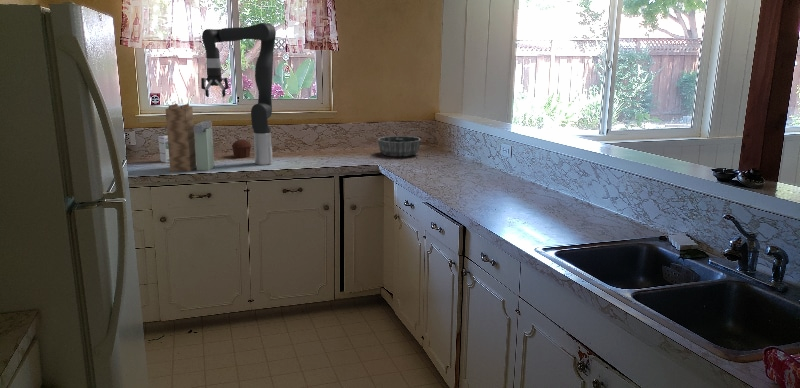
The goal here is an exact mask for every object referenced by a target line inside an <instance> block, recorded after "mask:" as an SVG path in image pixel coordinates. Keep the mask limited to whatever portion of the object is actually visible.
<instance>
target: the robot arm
mask: <svg viewBox="0 0 800 388" xmlns="http://www.w3.org/2000/svg"><path fill="white" fill-rule="evenodd" d="M276 34H277V32H276V28H275V26H274V25H272V24H271V23H269V22H260V23H257V24H253V25H250V26H245V27H244V26H243V27H224V28H221V29H213V28H212V29H211V28H210V29H209V28H206V29H204V30H203V31H202V35H201V38H202V39H201V40H202V44H203V47H204V50H205V57H206V59H205V60H206V61H205V65H206V66H205V67H206V77H201V79H200V82H201V84H200V86H201V89H202V90H204V94H205V96H206V98H209V97H210V93H209V89H210V88H211V86H212V87H220V88H221V96H222V98H225V96H226V90H228V89H229V80H228V78H227V77H222V65H221V59H220V58H221V56H220V50H219V48H218V47H217V45H216V44H217V43H222V42H223V43H224V42H238V41H243V40H257V41H260V51H259V54H258V57H257V60H256V63H255V68H254V69H255V70H254V79H255V84H256V87H257V91H258V94H257V95H258V98H257V103H255V104H254V105H253V106H252V107H251V109H250V118H251V127H252V130H253V144H254V145H253V148H254V151H253V152H254V164H255V165H259V166H261V165H262V166H263V165H264V166H265V165H266V166H267V165H272V164H273V145H272V133H271V132H272V130H271V127H270V126H269V122H268V119H270V118H271V117H272V113H273V104H272V103H273V101H272V90H273V76H274V75H273V71H274V70H273V69H274V49H275V42H276V36H277V35H276ZM206 81H207V85H206ZM222 82H224V85H223V83H222Z"/></svg>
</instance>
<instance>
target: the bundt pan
mask: <svg viewBox="0 0 800 388" xmlns="http://www.w3.org/2000/svg"><path fill="white" fill-rule="evenodd" d="M376 140H377V142H378V147H379V151H380V153H382V154H383V155H384V156H387V157H398V158H401V157H403V158H404V157H411V156H415V155H416V154H417V153H418V152H419V150H420V145H421V141H422V138H420V137H418V136H417V137H416V136H407V135H393V136H392V135H391V136H383V137H378V138H377V139H376Z"/></svg>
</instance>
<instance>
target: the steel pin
mask: <svg viewBox="0 0 800 388" xmlns="http://www.w3.org/2000/svg"><path fill="white" fill-rule="evenodd" d="M193 125H194V133H204V132H205V130H206V129H208V128H210V127H211V129H212V130H213V121H212V120H203V121H200V122H198V123H196V124H193Z"/></svg>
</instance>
